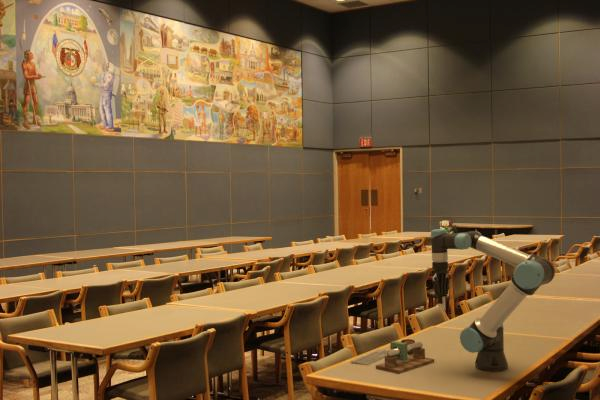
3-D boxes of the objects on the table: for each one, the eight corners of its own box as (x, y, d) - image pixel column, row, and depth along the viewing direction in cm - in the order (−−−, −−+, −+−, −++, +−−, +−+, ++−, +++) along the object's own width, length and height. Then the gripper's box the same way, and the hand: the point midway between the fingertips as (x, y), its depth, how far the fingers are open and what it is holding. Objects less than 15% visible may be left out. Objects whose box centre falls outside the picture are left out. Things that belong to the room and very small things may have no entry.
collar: (394, 357, 338) (394, 340, 338) (407, 359, 333) (407, 343, 332) (390, 358, 336) (390, 342, 336) (403, 361, 331) (403, 344, 330)
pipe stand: (411, 357, 352) (411, 345, 352) (434, 362, 342) (433, 349, 342) (375, 368, 333) (375, 355, 333) (398, 373, 323) (398, 360, 323)
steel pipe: (417, 347, 347) (417, 340, 347) (422, 348, 345) (422, 341, 345) (386, 356, 331) (386, 349, 331) (392, 357, 328) (391, 350, 328)
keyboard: (368, 367, 339) (368, 363, 339) (350, 364, 345) (350, 360, 345) (396, 354, 363) (396, 350, 363) (378, 352, 369) (378, 348, 369)
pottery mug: (396, 355, 360) (396, 340, 365) (405, 359, 367) (404, 344, 371) (417, 351, 354) (416, 336, 358) (425, 356, 361) (424, 341, 365)
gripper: (441, 259, 339) (443, 307, 339) (425, 262, 330) (428, 311, 330) (454, 260, 334) (456, 308, 334) (438, 262, 325) (441, 312, 325)
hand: (442, 310), depth 332 cm, fingers closed
